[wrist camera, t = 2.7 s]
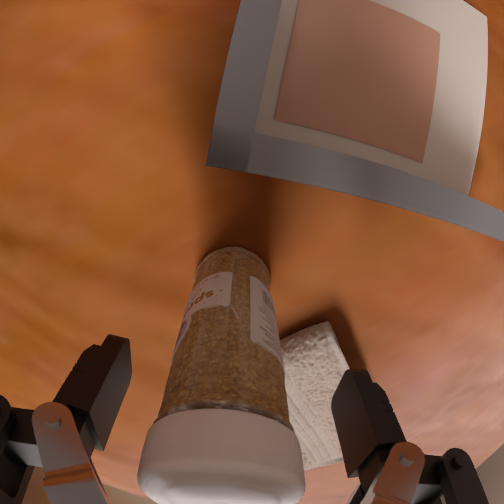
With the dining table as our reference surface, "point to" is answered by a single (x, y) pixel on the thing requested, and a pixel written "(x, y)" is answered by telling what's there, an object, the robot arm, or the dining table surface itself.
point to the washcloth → (313, 391)
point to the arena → (360, 101)
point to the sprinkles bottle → (225, 397)
